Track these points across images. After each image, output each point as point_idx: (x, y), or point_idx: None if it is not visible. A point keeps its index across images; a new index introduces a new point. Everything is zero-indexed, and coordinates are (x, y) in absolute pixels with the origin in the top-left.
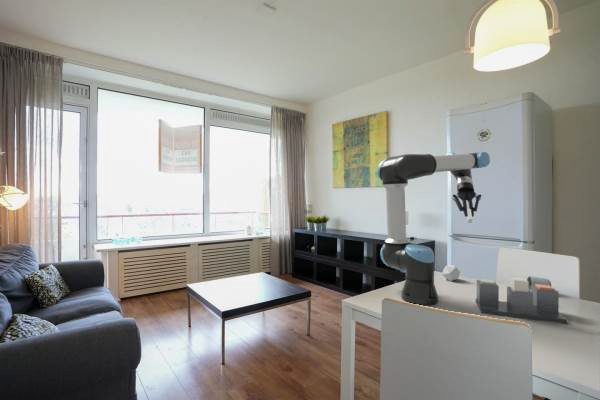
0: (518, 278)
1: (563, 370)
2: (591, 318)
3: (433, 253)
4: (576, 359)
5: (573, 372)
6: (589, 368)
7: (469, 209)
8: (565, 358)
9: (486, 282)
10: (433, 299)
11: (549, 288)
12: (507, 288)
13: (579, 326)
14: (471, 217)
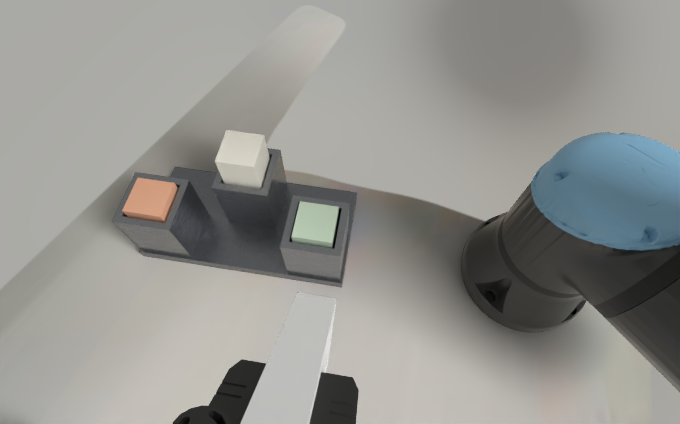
0: (235, 158)
1: (318, 22)
2: (81, 219)
3: (549, 170)
4: (279, 47)
5: (308, 20)
6: (278, 31)
7: (265, 422)
8: (294, 47)
9: (325, 205)
10: (482, 224)
11: (149, 179)
12: (269, 192)
13: (161, 164)
14: (297, 306)
